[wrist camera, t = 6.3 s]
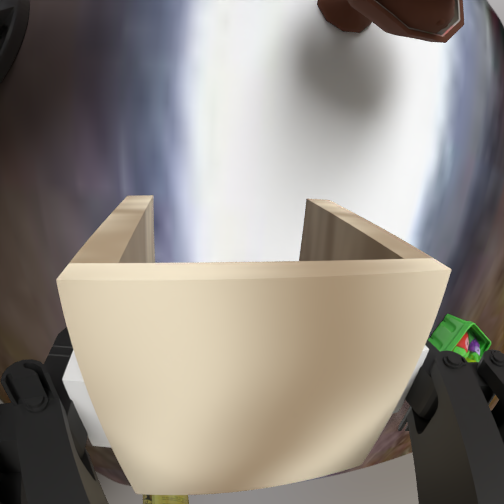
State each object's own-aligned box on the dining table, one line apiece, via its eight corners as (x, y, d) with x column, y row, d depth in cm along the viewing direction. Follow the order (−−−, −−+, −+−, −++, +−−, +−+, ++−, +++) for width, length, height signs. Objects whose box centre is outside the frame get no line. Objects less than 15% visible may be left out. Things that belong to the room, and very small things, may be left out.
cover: (144, 363, 14) (136, 494, 7) (127, 195, 11) (56, 279, 4) (302, 354, 15) (361, 464, 9) (328, 199, 13) (451, 269, 6)
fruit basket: (473, 326, 39) (517, 365, 29) (440, 369, 41) (479, 412, 31) (449, 302, 35) (504, 347, 25) (409, 353, 37) (456, 406, 27)
